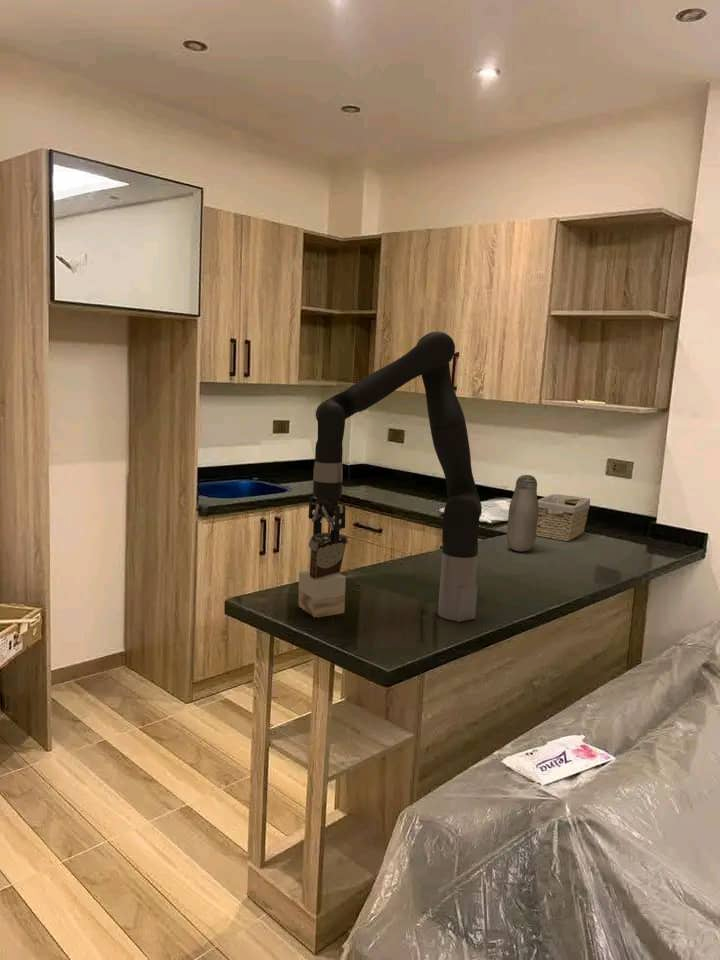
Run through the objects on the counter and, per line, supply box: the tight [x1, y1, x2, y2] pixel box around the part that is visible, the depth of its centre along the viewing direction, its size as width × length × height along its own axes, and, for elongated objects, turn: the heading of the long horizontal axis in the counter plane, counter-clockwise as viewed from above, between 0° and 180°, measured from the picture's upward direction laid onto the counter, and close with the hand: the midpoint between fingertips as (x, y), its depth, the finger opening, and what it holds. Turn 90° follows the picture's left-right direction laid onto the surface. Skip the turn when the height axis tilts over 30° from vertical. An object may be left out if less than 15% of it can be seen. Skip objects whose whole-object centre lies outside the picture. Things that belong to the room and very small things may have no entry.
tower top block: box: [298, 569, 347, 600], centre depth 194 cm, size 9×9×5 cm
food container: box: [308, 532, 349, 579], centre depth 194 cm, size 12×6×10 cm, turn 139°
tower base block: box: [297, 589, 346, 618], centre depth 195 cm, size 9×9×5 cm
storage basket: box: [536, 493, 591, 542], centre depth 296 cm, size 24×16×15 cm
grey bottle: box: [506, 474, 539, 553], centre depth 266 cm, size 10×10×28 cm
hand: (325, 540), depth 192 cm, fingers open, 8 cm apart
